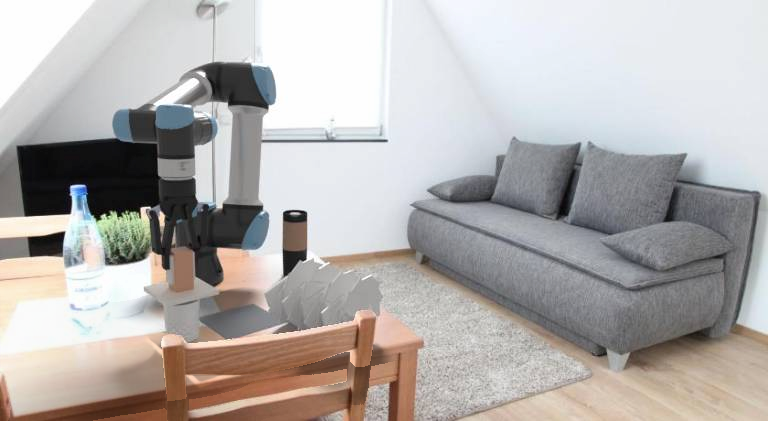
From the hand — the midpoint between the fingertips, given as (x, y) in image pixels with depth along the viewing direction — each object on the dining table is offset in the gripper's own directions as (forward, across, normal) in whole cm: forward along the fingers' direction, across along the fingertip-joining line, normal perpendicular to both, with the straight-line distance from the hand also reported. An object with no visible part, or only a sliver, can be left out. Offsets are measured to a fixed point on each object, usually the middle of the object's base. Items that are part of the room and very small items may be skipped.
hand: (180, 280), depth 125 cm
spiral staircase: (+15, +27, -18) cm, 36 cm away
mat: (+14, +15, 0) cm, 21 cm away
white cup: (+15, 0, 0) cm, 15 cm away
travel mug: (+15, +47, +23) cm, 54 cm away
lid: (+3, 0, 0) cm, 3 cm away
